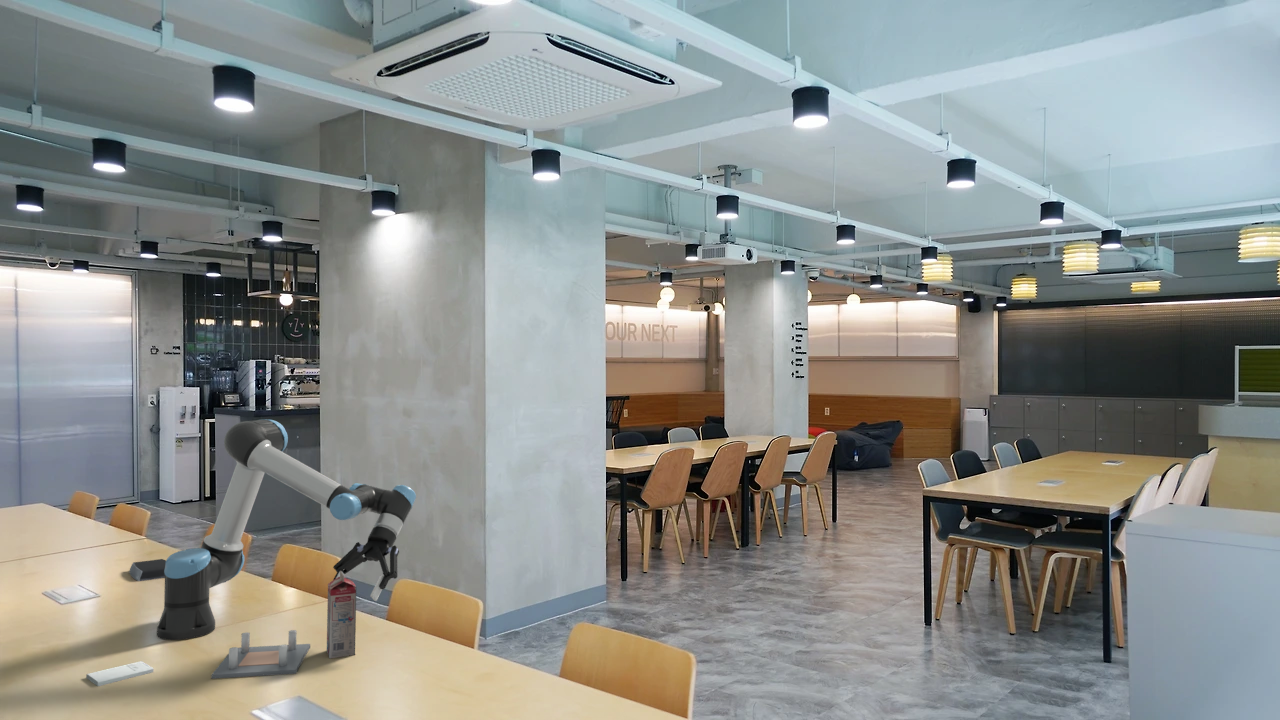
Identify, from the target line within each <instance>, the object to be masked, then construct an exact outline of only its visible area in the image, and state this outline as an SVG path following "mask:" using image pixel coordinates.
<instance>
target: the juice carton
mask: <svg viewBox="0 0 1280 720" xmlns="http://www.w3.org/2000/svg"><path fill="white" fill-rule="evenodd" d="M326 610H327V619H326V621H327V623H326V653H327V655H328V658H329V659H334V658H342V657H348V656H349V655H350V656H355V655H356V628H357V626H356V625H357V624H356V622H357V586H356V583H354V581H353V580H352V579H349V578H347V577H346V578H344V575H343V574H342V572H341V570H340V577H338V578H336V579H335V580H333V579H332V580H331V581H329V582H328V584H327V609H326Z"/></svg>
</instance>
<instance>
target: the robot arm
mask: <svg viewBox="0 0 1280 720" xmlns="http://www.w3.org/2000/svg"><path fill="white" fill-rule="evenodd" d="M288 440H289V437H288V432H287V431H286V429H285V427H284V425H283V424H281V423H280V422H278V421H276V420H273V419H267V418H266V419H265V418H262V419H257V420H249V421H240V422H238V423H237V422H236V423H235V424H234V425H232V426H231V427H229V429H228V430H227V431H226V433H225V435H224V440H223V446H224V449H225V452H226V453H227V455H229V457H230V458H232V459H233V460H234V461H235V462H236V465H235V467H234V470H233V473H232V476H231V479H230V481H229V485H228V487H227V490H226V493H225V496H224V498H223V501H222V503H221V507H220V509H219V511H218V515H217V518H216V520H215V523H214V527H213V529H212V531H211V534H208V535H206V536H205V537H204V538H203V541H202V544H201V546H200V547H197V548H196V547H194V548H187V549H184V550H182V549H181V550H179V551H176V552H174V553H172V554H170V555H169V556H168V557H167V558H166V559H165V560H166V565H165V570H164V573H165V578H164V595H163V596H164V600H163V601H164V602H163V603H164V605H163V611H162V612H161V616H160V619H159V621H158V623H157V626H156V637H157V638H159V639H161V640H165V641H167V640H168V641H174V640H175V641H179V640H187V639H194V638H199V637H202V636H205V635H208V634H210V633H212V632H213V631H215V630H216V619H215V616H214V614H213V611H212V607H211V605H210V589H211V588H214V587H216V586H218V585H221V584H224V583H226V582H229V581H231V580H232V579H233V578H235V577H236V576H237V575H239V574H240V572H241V571H242V569H243V567H244V564H245V555H244V551H243V550H244V547H245V546H244V544H243V542H242V538H243V534H244V532H245V529H246V526H247V523H248V521H249V518H250V515H251V512H252V509H253V506H254V504H255V501H256V498H257V495H258V493H259V490H260V487H261V484H262V481H263V479H264V476H265V475H268V476H270V477H272V478H273V479H275V480H277V481H279V482H281V483H282V484H284V485H286V486H287V487H290V488H291V489H293V490H294V491H297V492H298V493H300V494H302V495H304V496H306V497H307V498H309V499H310V500H313V501H314V502H316V503H317V504H320V505H322V506H324V507H325V508H327V509H329V511H330V513H331V516H333V517H334V518H335V520H336V519H337V520H339V521H347V520H351V519H354V518H356V517H358V516H360V515H363V514H365V513H367V512H370V513H374V514H378V515H379V516H378V518H377V520H376V521H375V523H374V525H373V527H372V529H371V532H370V533H369V535H368V537H367V542H366V543H365V544H361V542H360V541H359V542H358V541H357V542H356V543H355V544H354V546H353V547H352V548H351V550H349V551H348V552H347V553H346V554H345V555H344V556H343V557H342V558H340V559H339V560H338V561H337V562H336V563H335V564H334V565H333V567H332V568H333V569H334V570H335V571H336V574H335V575H334V578H333V579H332V581H333V580H335V579H336V578H338V577H340V570H341V572H342V574H343V575H344V578H347V576H346V574H347V573H349V572H350V571H352V570H353V569H354V568H356V567H357V566H359V565H361V564H362V563H366V562H368V561H369V562H372V561H374V562H378V561H379V564H380V567H381V571H382V575H379V577H378V579H377V581H376V582H375V586H374V587H373V589H372V591H371V593H370V595H369V596H370V598H371V599H372V600H373V601H374V602H377V601H378V600H379V596H380V595H381V593H382V590H385V589H386V587H387V585H388V582H389V581H390V580H391V579H397V578H398V576H399V575H398V557H399V554H400V550H399V549H398V546H396V545H394V544H395V542H396V540H397V537H398V536H399V534H400V532H401V530H402V528H403V525H404V524H405V522H406V520H407V518H408V516H409V514H410V512H411V510H412V508H413V506H414V503H415V501H416V499H417V494H416V492H415V490H413V489H412V488H411V487H410V486H407V485H406V484H405V485H404V484H398V485H395V486H394V487H393V489H392V490H390V489H383V488H380V487H375V486H372V485H368V484H366V483H356V482H355V483H353V484H352V485H351V486H350V487H349V488H348V487H346V486H344V485H342V484H341V483H339V482H337V481H335V480H333V479H332V478H330V477H328V476H326V475H324V474H322V473H321V472H319V471H317V470H316V469H314V468H313V467H310V466H309V465H307V464H305V463H303V462H302V461H300V460H298V459H295V458H294V457H292V456H290V455H289V454H287V453H286V452H284V451H285V450H286V448H287V446H288ZM388 554H389V566H388V564H387V559H386V556H387V555H388Z"/></svg>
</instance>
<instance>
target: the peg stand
mask: <svg viewBox="0 0 1280 720" xmlns="http://www.w3.org/2000/svg"><path fill="white" fill-rule="evenodd" d="M250 634H251V633H250V632H247V631H246V632H242V633H241V640H240V643H241V644H240V645H241V647H236V646H235V647H234V646H233V647H230V648H229V649H228V654H226V657H225V658H224V659H223V660H222V661H221V663H220V664H219V665H218V666H217V667H216V668H215V670H214V671H213V672H212V674H211V675H210V676H211V679H228V678H245V677H247V678H248V677H258V676H259V677H261V676H277V675H292V674H293V675H294V674H295V675H296V674H297V672H298V671H299V668H300V666H301V665H302V663H303V662H304V659H305V658H306V656H307V654H308V652H309V651H310V649H311V643H300V644H297V630H296V629H291V630H289V631H288V644H281V645H280V644H279V645H264V646H262V645H261V646H250V637H251V635H250Z"/></svg>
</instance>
